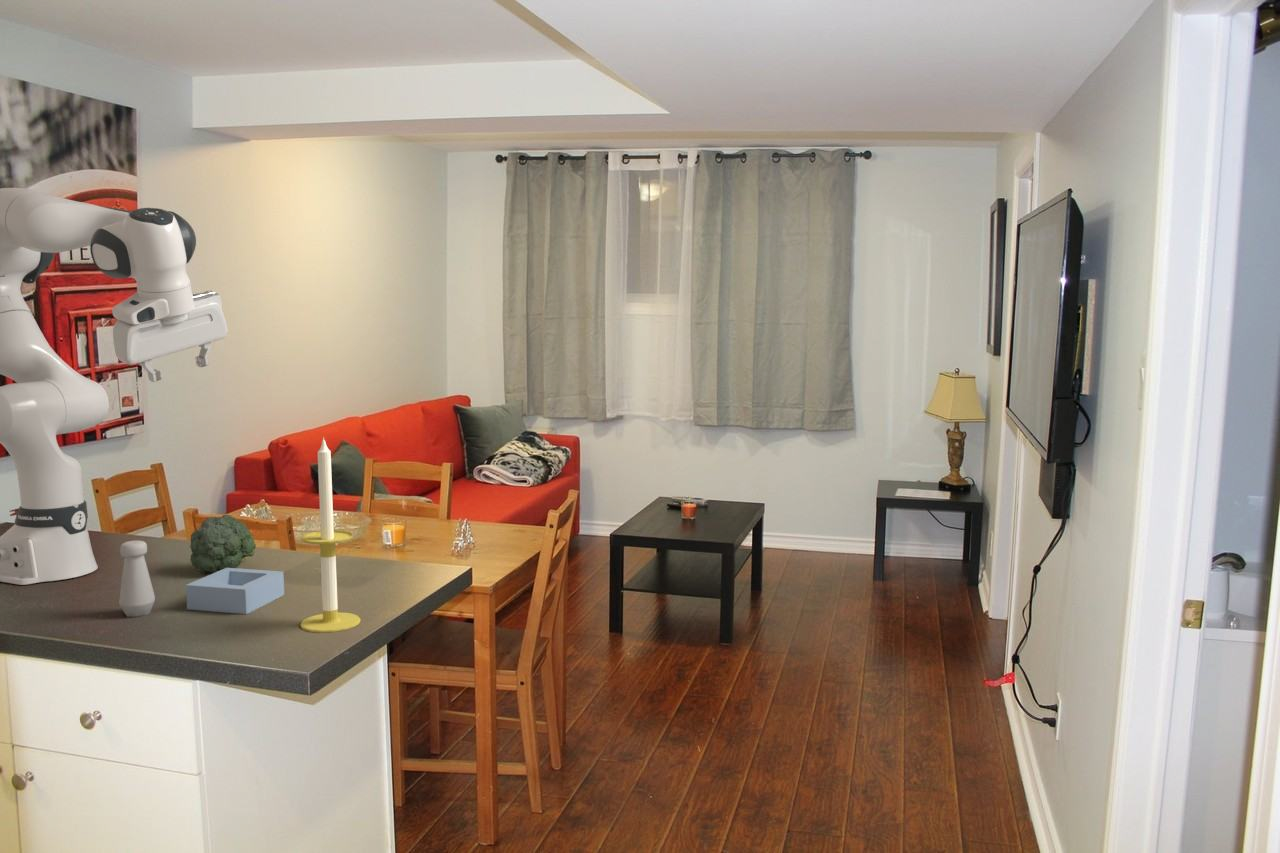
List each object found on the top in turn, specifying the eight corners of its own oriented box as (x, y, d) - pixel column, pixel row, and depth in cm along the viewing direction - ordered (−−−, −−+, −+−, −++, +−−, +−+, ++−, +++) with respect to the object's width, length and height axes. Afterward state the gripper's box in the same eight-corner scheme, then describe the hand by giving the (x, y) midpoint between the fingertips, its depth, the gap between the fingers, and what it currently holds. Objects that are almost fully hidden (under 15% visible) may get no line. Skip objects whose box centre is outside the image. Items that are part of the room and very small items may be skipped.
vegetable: (280, 551, 218) (249, 535, 203) (235, 596, 215) (201, 583, 201) (244, 514, 221) (211, 496, 207) (199, 558, 219) (163, 543, 204)
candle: (287, 627, 175) (279, 438, 171) (327, 611, 184) (320, 431, 180) (334, 635, 171) (326, 442, 167) (372, 618, 180) (366, 434, 176)
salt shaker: (120, 610, 184) (116, 539, 183) (156, 606, 186) (151, 536, 185) (118, 620, 179) (113, 547, 177) (155, 616, 181) (150, 543, 179)
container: (187, 609, 185) (185, 585, 184) (228, 590, 197) (226, 567, 196) (246, 614, 182) (245, 589, 182) (284, 594, 194) (283, 571, 193)
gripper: (209, 285, 194) (219, 354, 200) (102, 311, 179) (117, 384, 184) (228, 291, 190) (239, 361, 196) (121, 318, 175) (136, 393, 181)
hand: (179, 373), depth 190 cm, fingers open, 8 cm apart
